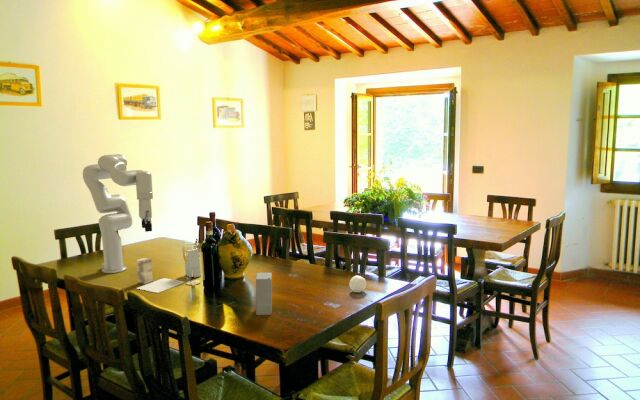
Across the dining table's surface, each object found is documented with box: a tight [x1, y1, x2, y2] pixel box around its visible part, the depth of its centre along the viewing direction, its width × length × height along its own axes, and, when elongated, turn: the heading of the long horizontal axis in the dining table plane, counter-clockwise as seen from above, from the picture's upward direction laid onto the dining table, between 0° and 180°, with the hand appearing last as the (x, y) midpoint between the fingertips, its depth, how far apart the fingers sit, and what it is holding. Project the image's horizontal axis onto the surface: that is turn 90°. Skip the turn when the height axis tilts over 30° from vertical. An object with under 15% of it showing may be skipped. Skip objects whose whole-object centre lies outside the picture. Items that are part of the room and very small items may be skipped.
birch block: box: [135, 257, 154, 285], centre depth 239 cm, size 5×5×12 cm
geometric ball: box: [348, 275, 367, 294], centre depth 218 cm, size 8×8×8 cm
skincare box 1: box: [183, 247, 202, 278], centre depth 248 cm, size 8×6×15 cm
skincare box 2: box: [255, 272, 273, 316], centre depth 196 cm, size 8×7×16 cm
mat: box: [135, 277, 186, 294], centre depth 234 cm, size 15×18×1 cm
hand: (146, 229), depth 239 cm, fingers open, 9 cm apart
